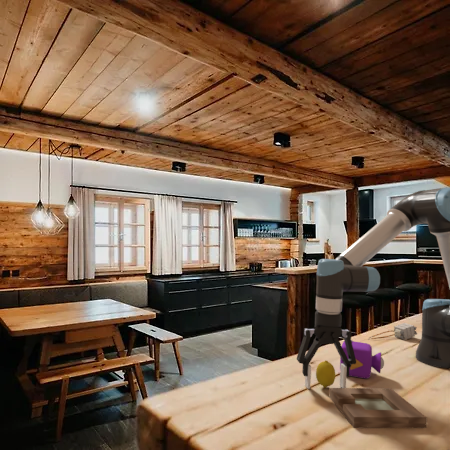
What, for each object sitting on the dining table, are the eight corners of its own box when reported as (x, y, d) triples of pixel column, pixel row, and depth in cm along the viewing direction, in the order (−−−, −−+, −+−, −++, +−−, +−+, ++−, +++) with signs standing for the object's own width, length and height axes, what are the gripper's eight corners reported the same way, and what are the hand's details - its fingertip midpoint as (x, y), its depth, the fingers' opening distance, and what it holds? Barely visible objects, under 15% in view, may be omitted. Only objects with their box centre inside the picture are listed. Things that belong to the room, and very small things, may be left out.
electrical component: (377, 350, 158) (376, 339, 158) (367, 346, 163) (366, 335, 163) (417, 335, 167) (416, 325, 167) (406, 332, 173) (405, 321, 172)
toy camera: (386, 383, 115) (387, 351, 115) (340, 377, 118) (342, 346, 118) (379, 370, 126) (380, 341, 126) (337, 365, 128) (338, 336, 129)
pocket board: (390, 397, 105) (391, 388, 105) (426, 427, 89) (426, 417, 89) (329, 396, 103) (329, 387, 103) (353, 427, 87) (354, 417, 88)
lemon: (324, 393, 106) (325, 365, 106) (311, 385, 111) (312, 358, 111) (338, 390, 108) (340, 362, 108) (325, 382, 113) (326, 356, 113)
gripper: (359, 309, 114) (356, 382, 114) (287, 307, 113) (284, 381, 112) (371, 315, 107) (367, 392, 107) (294, 313, 105) (291, 392, 105)
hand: (325, 386), depth 109 cm, fingers open, 10 cm apart
